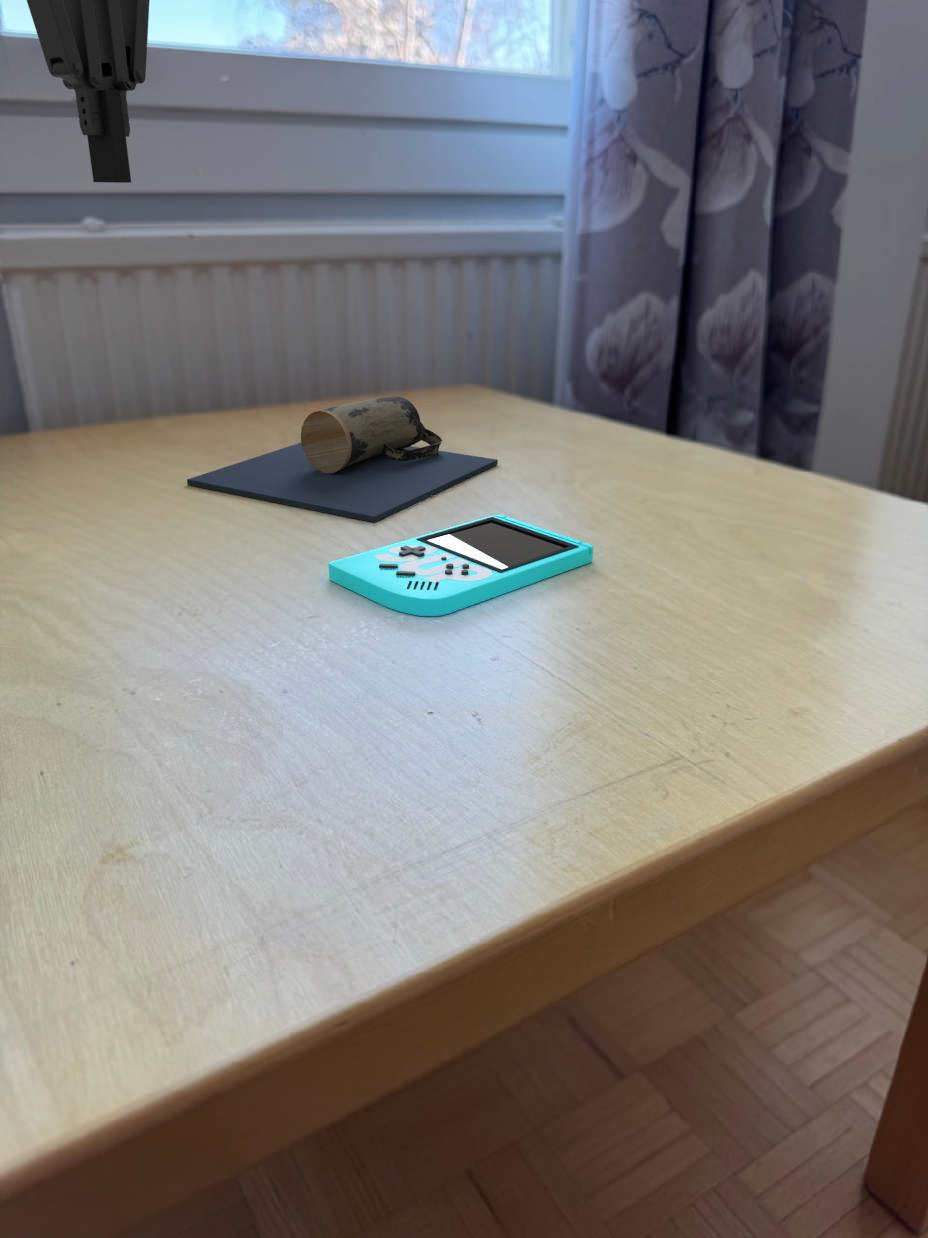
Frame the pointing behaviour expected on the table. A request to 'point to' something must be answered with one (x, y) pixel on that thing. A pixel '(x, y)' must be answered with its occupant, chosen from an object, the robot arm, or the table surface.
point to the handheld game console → (459, 565)
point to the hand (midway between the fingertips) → (112, 181)
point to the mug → (365, 433)
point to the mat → (344, 481)
